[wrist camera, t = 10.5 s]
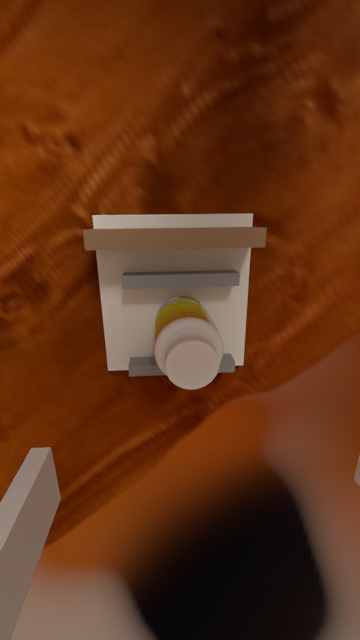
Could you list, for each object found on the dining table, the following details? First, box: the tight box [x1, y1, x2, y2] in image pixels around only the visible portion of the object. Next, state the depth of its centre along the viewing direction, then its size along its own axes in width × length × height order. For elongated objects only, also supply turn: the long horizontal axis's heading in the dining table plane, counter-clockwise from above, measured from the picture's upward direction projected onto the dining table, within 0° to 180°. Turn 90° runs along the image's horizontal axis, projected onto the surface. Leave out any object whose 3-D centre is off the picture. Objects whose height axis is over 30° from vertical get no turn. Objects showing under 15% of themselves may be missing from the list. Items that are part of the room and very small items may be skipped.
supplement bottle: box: [154, 296, 223, 390], centre depth 25 cm, size 6×6×10 cm
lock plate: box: [83, 214, 267, 377], centre depth 28 cm, size 16×15×5 cm
